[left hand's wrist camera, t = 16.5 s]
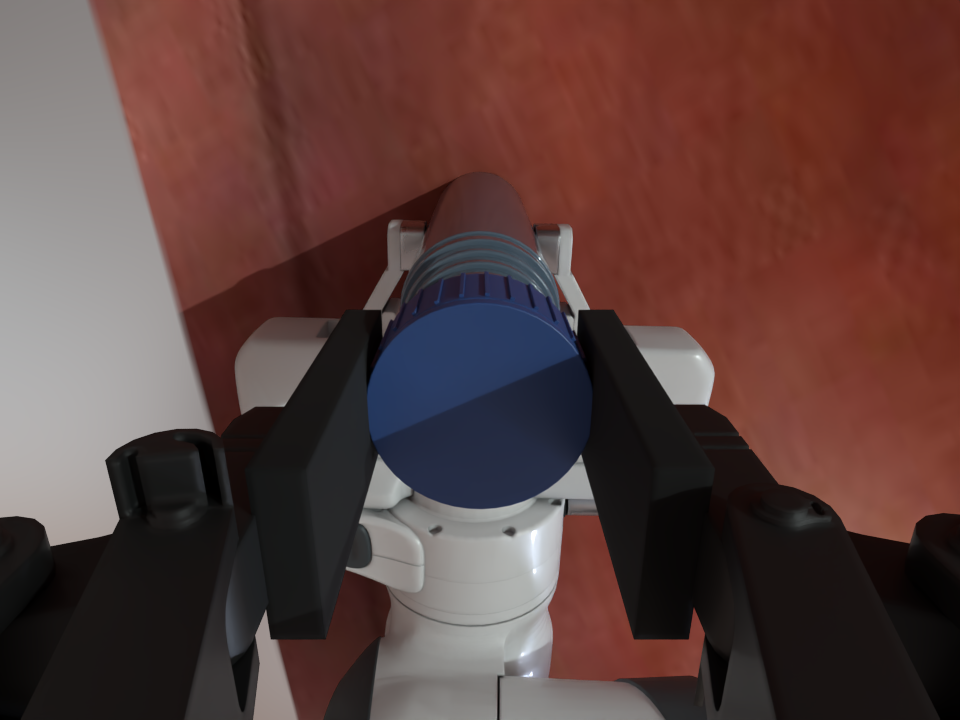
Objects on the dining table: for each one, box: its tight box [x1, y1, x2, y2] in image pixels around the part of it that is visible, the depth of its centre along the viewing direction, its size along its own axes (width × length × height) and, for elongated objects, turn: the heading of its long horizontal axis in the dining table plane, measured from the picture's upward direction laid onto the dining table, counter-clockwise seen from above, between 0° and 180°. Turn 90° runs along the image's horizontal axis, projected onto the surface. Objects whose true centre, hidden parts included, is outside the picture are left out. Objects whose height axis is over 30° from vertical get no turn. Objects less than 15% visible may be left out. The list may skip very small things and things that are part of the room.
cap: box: [367, 271, 593, 509], centre depth 13 cm, size 4×4×2 cm
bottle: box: [399, 172, 560, 311], centre depth 23 cm, size 4×4×22 cm
